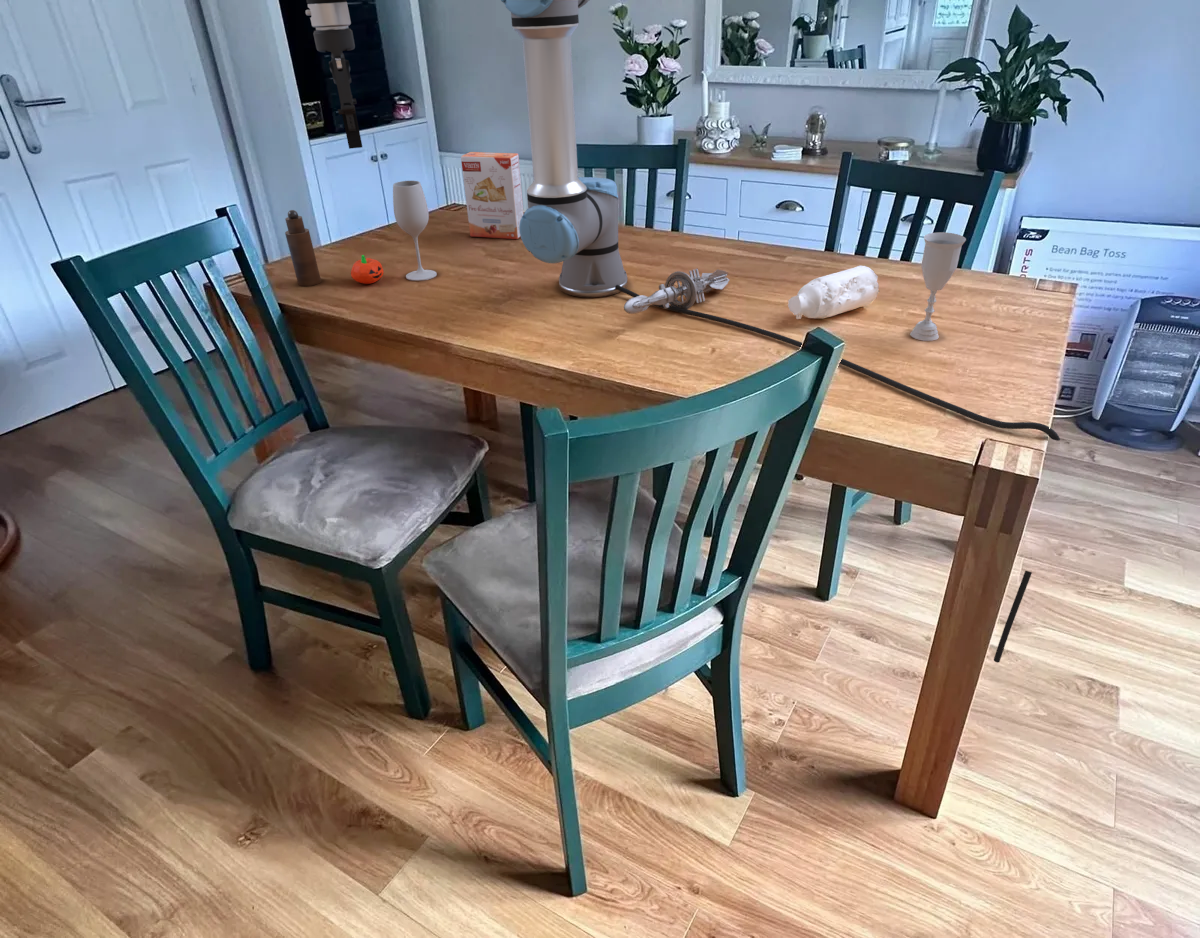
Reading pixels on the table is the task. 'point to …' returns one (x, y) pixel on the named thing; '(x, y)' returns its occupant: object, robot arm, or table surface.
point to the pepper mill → (301, 251)
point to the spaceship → (679, 291)
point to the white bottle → (835, 293)
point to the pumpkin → (367, 270)
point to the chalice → (937, 275)
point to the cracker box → (493, 194)
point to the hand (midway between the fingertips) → (355, 142)
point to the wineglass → (412, 219)
